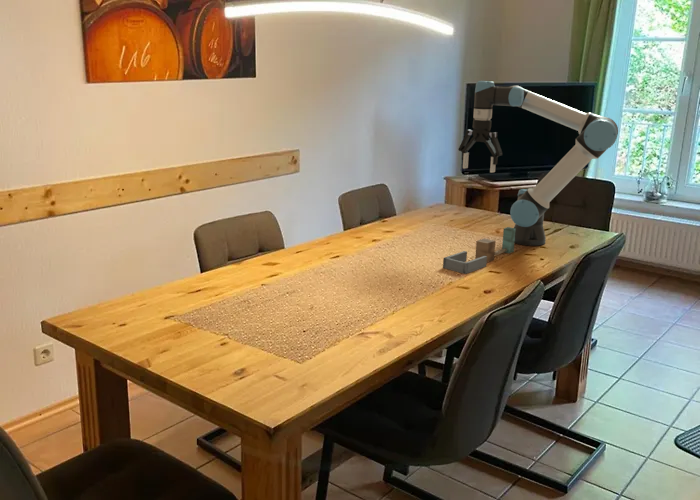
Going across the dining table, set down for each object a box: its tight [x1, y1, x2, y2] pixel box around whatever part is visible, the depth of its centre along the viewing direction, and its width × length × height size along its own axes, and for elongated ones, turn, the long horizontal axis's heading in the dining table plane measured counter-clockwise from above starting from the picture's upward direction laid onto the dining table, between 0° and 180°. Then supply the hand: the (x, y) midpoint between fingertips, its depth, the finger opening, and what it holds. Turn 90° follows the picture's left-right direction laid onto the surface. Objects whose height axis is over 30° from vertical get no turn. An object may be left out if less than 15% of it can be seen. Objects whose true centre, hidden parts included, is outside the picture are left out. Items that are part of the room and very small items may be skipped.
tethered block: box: [474, 226, 516, 263], centre depth 279 cm, size 22×5×10 cm, turn 137°
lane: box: [442, 250, 488, 275], centre depth 265 cm, size 14×10×4 cm
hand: (478, 170), depth 292 cm, fingers open, 13 cm apart
